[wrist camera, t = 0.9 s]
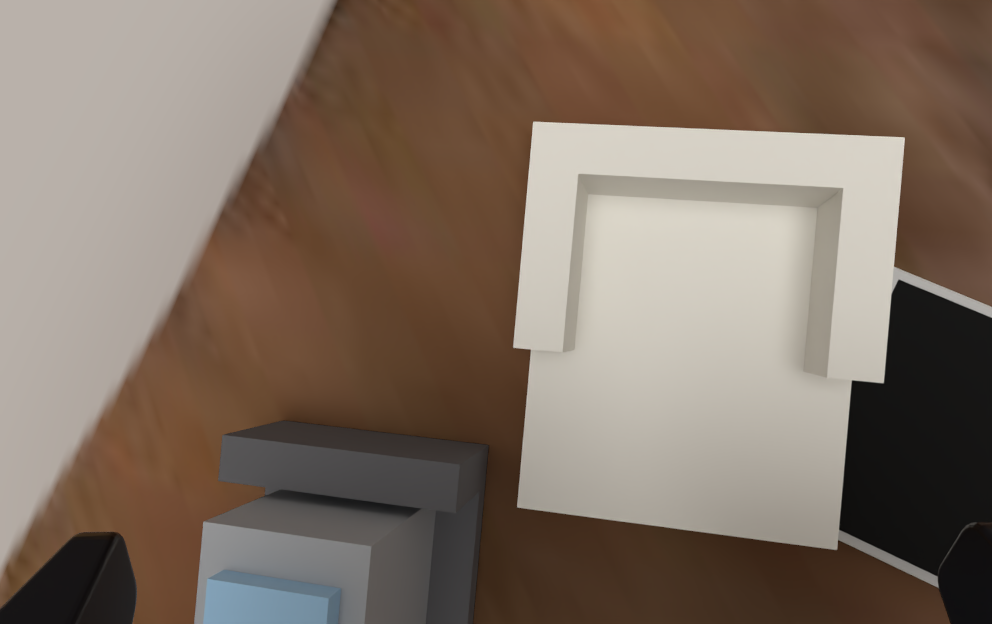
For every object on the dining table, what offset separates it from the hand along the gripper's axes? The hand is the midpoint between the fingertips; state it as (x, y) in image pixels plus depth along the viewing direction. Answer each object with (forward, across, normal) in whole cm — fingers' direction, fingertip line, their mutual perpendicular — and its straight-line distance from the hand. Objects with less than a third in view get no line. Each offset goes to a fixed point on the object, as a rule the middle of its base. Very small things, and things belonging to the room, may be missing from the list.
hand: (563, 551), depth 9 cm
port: (+12, -6, +6) cm, 15 cm away
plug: (+9, +3, +13) cm, 16 cm away
